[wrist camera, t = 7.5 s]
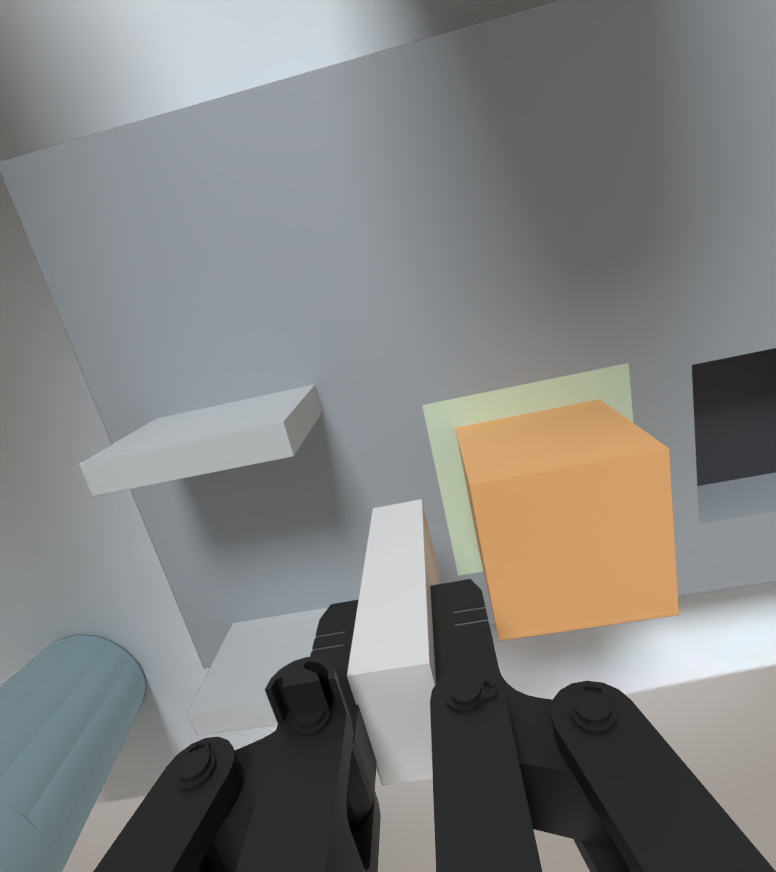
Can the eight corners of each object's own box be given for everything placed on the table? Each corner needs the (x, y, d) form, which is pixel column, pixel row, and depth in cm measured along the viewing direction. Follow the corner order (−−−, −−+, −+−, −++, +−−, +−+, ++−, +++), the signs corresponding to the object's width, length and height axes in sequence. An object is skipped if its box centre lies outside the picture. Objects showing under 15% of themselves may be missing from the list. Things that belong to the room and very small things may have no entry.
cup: (174, 632, 25) (17, 868, 15) (164, 746, 28) (23, 1013, 18) (21, 600, 25) (-236, 818, 15) (24, 717, 28) (-195, 970, 18)
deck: (59, 177, 19) (-156, 124, 12) (880, -53, 16) (1264, -316, 9) (227, 622, 25) (153, 764, 18) (850, 521, 22) (1063, 646, 15)
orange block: (455, 427, 18) (469, 484, 13) (599, 399, 17) (668, 448, 13) (478, 550, 20) (499, 640, 15) (612, 527, 19) (678, 614, 14)
